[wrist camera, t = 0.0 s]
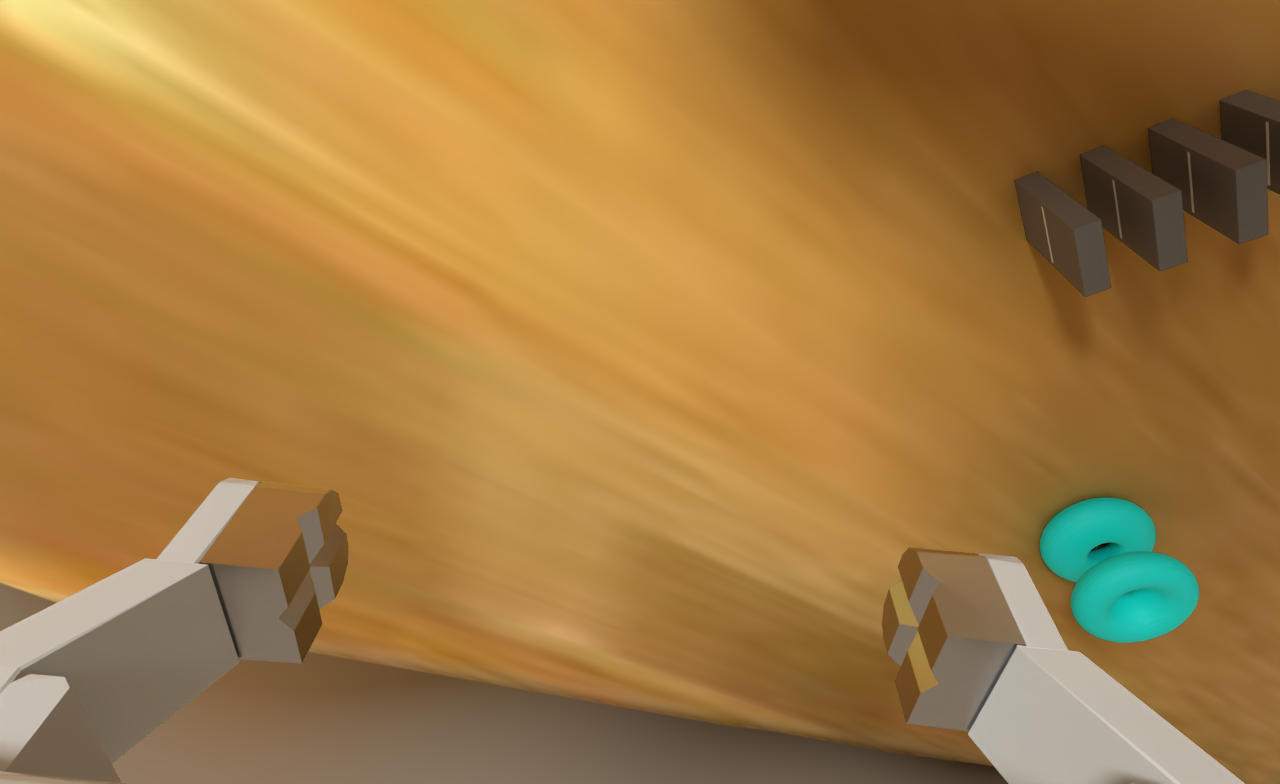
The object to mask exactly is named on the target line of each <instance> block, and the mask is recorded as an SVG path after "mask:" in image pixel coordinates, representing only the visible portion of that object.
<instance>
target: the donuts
mask: <svg viewBox="0 0 1280 784" xmlns="http://www.w3.org/2000/svg"><path fill="white" fill-rule="evenodd" d="M1155 540H1156V530H1155V526H1154V523H1153V521H1152V519H1151V518H1150V516H1149V515H1148V514H1147V513H1146V512H1145V511H1144V510H1143V509H1142V508H1140V507H1139V506H1138V505H1136V504H1134V503H1132V502H1129V501H1126V500H1123V499H1119V498H1110V497H1103V498H1093V499H1088V500H1084V501H1081V502H1078V503H1075V504H1073V505H1071V506H1069V507H1067V508H1065V509H1064V510H1062V511H1061V512H1059V513H1058V514H1057V515H1055V516H1054V517H1053V518H1052V519H1051V520H1050V522H1049V523H1048V524H1047V525H1046V527H1045V529H1044V530H1043V533H1042V535H1041V539H1040V552H1041V556H1042V558H1043V560H1044V562H1045V564H1046V565H1047V566H1048V568H1049V569H1050V570H1051V571H1052V572H1054V573H1055V574H1057V575H1058V576H1060V577H1062V578H1064V579H1066V580H1069V581H1073V582H1077V583H1076V585H1075V587H1074V589H1073V592H1072V595H1071V609H1072V613H1073V615H1074V617H1075V619H1076V621H1077V622H1078V624H1079V625H1080V626H1081V627H1082V628H1083V629H1084V630H1086V631H1087V632H1088V633H1090V634H1092V635H1093V636H1095V637H1098V638H1100V639H1103V640H1107V641H1112V642H1121V643H1131V642H1140V641H1145V640H1149V639H1153V638H1156V637H1159V636H1161V635H1164V634H1166V633H1168V632H1170V631H1172V630H1173V629H1175V628H1176V627H1178V626H1179V625H1181V624H1182V623H1183V622H1184V621H1185V620H1186V619H1187V618H1188V617H1189V616H1190V615H1191V613H1192V612H1193V610H1194V609H1195V607H1196V605H1197V602H1198V598H1199V587H1198V583H1197V580H1196V578H1195V576H1194V574H1193V573H1192V572H1191V570H1190V569H1189V568H1188V567H1187V566H1185V565H1184V564H1183V563H1182V562H1180V561H1178V560H1177V559H1175V558H1173V557H1170V556H1168V555H1165V554H1161V553H1156V552H1152V550H1153V547H1154V544H1155ZM1103 543H1109V544H1108V545H1106V546H1104V547H1102V548H1100V549H1097V550H1094V551H1091V550H1092V549H1093V548H1094V547H1096V546H1098V545H1100V544H1103ZM1131 591H1132V592H1131ZM1128 592H1130V593H1128ZM1126 593H1127V594H1126Z"/></svg>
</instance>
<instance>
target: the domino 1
mask: <svg viewBox="0 0 1280 784" xmlns="http://www.w3.org/2000/svg"><path fill="white" fill-rule="evenodd" d="M1014 181H1015V186H1016V191H1017V196H1018V201H1019V205H1020V210H1021V215H1022V220H1023V225H1024V230H1025V235H1026V239H1027V241H1028V242H1029V243H1030V244H1031V245H1032V246H1033V247H1034V248H1036V249H1037V250H1038V251H1039V252H1040V253H1041V254H1042V255H1043V256H1044V257H1045V258H1046V259H1047V260H1048V261H1049V262H1050V263H1051V264H1052V265H1053V266H1054V267H1055V268H1056V269H1057V270H1058V271H1059V272H1060V273H1061V274H1062V275H1063V276H1064V277H1065V278H1066V279H1067V280H1068V281H1069V282H1070V283H1071V284H1072V285H1073V286H1074V287H1075V288H1076V289H1077V290H1078V291H1079V292H1080V293H1081V294H1082V295H1084V296H1085V297H1086V296H1089V295H1092V294H1095V293H1098V292H1101V291H1104V290H1107V289H1110V288H1111V282H1110V276H1109V269H1108V262H1107V256H1106V249H1105V242H1104V236H1103V229H1102V222H1101V219H1099V218H1098V217H1097V216H1095V215H1094V214H1093V213H1092V212H1090V211H1089V210H1088V209H1086V208H1085V207H1084V206H1082V205H1081V204H1080V203H1078V202H1077V201H1076V200H1074V199H1073V198H1072V197H1070V196H1069V195H1068V194H1066V193H1065V192H1064V191H1062V190H1061V189H1060V188H1058V187H1057V186H1056V185H1054V184H1053V183H1052V182H1050V181H1049V180H1048V179H1047V178H1045V177H1044V176H1043V175H1041V174H1040V173H1039V172H1035V173H1032V174H1029V175H1027V176H1024V177H1022V178H1019V179H1017V180H1014Z"/></svg>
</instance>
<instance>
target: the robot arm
mask: <svg viewBox="0 0 1280 784" xmlns="http://www.w3.org/2000/svg"><path fill="white" fill-rule="evenodd" d="M341 513H342V507H341V503H340V498H339V494H338V493H337V492H335V491H333V490H330V489H322V488H314V487H306V486H298V485H290V484H282V483H273V482H265V481H264V482H258V481H251V480H243V479H236V478H228V479H226V480H224V481H221V482H220V483H218V484H217V486H216V487H215V488H214V489H213V490H212V492H211V493H210V494H209V495H208V497H207V498H206V499H205V500H204V501H203V503H202V504H201V505H200V506H199V508H198V509H197V510H196V511H195V512H194V514H193V515H192V516H191V517H190V519H189V520H188V521H187V522H186V523H185V525H184V526H183V527H182V528H181V530H180V531H179V532H178V533H177V534H176V536H175V537H174V538H173V539H172V541H171V542H170V543H169V544H168V546H167V547H166V548H165V549H164V550H163V552H162V553H161V554H160V555H159V557H158V558H157V559H146V558H145V559H143V560H141V561H139V562H137V563H135V564H133V565H131V566H129V567H127V568H125V569H123V570H121V571H119V572H117V573H115V574H113V575H111V576H109V577H107V578H105V579H103V580H101V581H99V582H97V583H95V584H94V585H92V586H90V587H88V588H86V589H84V590H82V591H80V592H78V593H76V594H74V595H72V596H70V597H68V598H66V599H64V600H62V601H60V602H58V603H56V604H54V605H52V606H50V607H48V608H46V609H44V610H42V611H40V612H38V613H36V614H34V615H33V616H30V617H28V618H26V619H24V620H22V621H20V622H18V623H16V624H14V625H12V626H10V627H9V628H6V629H5V630H2V631H1V632H0V784H123V783H122V782H121V780H120V778H119V776H118V774H117V773H116V771H115V769H114V767H113V765H112V763H113V762H114V761H116V760H117V759H118V758H119V757H121V756H122V755H123V754H125V753H126V752H127V751H128V750H130V749H131V748H132V747H133V746H135V745H136V744H137V743H138V742H140V741H141V740H142V739H144V738H145V737H146V736H147V735H149V734H150V733H151V732H152V731H154V730H155V729H156V728H157V727H159V726H160V725H161V724H162V723H164V722H165V721H166V720H167V719H169V718H170V717H171V716H172V715H174V714H175V713H176V712H177V711H179V710H180V709H181V708H183V707H184V706H185V705H186V704H187V703H189V702H190V701H191V700H193V699H194V698H195V697H196V696H198V695H199V694H200V693H202V692H203V691H204V690H205V689H207V688H208V687H209V686H210V685H212V684H213V683H214V682H215V681H217V680H218V679H219V678H220V677H222V676H223V675H224V674H226V673H227V672H228V671H229V670H230V669H232V668H233V667H234V666H235V665H237V664H238V663H239V659H247V660H260V661H275V662H289V663H302V662H303V660H304V659H305V657H306V655H307V653H308V651H309V649H310V647H311V645H312V643H313V641H314V639H315V637H316V635H317V633H318V631H319V629H320V627H321V625H322V620H321V616H320V611H319V609H320V608H322V607H323V606H325V605H326V604H328V603H329V602H331V601H332V600H334V599H335V598H336V596H337V594H338V592H339V589H340V587H341V585H342V583H343V580H344V576H345V572H346V568H347V564H348V541H347V534H346V533H345V532H344V531H343V530H342V529H341V528H340V527H339V526H338V525H337V524H336V522H337V520H338V518H339V516H340V514H341ZM898 569H899V572H900V575H901V579H902V580H901V581H900V582H898V583H897V584H895V585H894V586H892V587H891V588H889V591H888V594H887V597H886V600H885V603H884V608H883V619H882V627H883V637H884V642H885V646H886V650H887V654H888V655H889V656H890V657H891V658H892V659H893V660H894V661H895V662H896V663H897V664H898V665H899V666H900V667H901V668H900V670H899V672H898V675H897V677H896V680H895V684H896V687H897V691H898V694H899V698H900V702H901V705H902V709H903V712H904V716H905V720H906V723H907V724H913V725H921V726H929V727H937V728H945V729H953V730H960V731H968V732H969V733H968V735H969V737H970V738H971V739H972V740H973V741H974V743H975V744H976V745H977V746H978V747H979V749H980V750H981V751H982V752H983V753H984V755H985V756H986V757H987V758H988V759H989V761H990V762H991V763H992V764H993V765H994V767H995V768H996V769H997V770H998V771H999V773H1000V774H1001V775H1002V776H1003V777H1004V779H1005V780H1006V781H1007V782H1008V783H1009V784H1245V783H1243V782H1242V781H1241V780H1240V779H1238V778H1237V777H1236V776H1235V775H1233V774H1232V773H1231V772H1230V771H1228V770H1227V769H1226V768H1225V767H1223V766H1222V765H1221V764H1220V763H1218V762H1217V761H1216V760H1215V759H1213V758H1212V757H1211V756H1210V755H1208V754H1207V753H1206V752H1205V751H1203V750H1202V749H1201V748H1200V747H1198V746H1197V745H1196V744H1195V743H1193V742H1192V741H1191V740H1190V739H1188V738H1187V737H1186V736H1185V735H1183V734H1182V733H1181V732H1180V731H1178V730H1177V729H1176V728H1175V727H1173V726H1172V725H1171V724H1169V723H1168V722H1167V721H1166V720H1164V719H1163V718H1162V717H1161V716H1159V715H1158V714H1157V713H1156V712H1154V711H1153V710H1152V709H1151V708H1149V707H1148V706H1147V705H1146V704H1144V703H1143V702H1142V701H1141V700H1139V699H1138V698H1137V697H1136V696H1134V695H1133V694H1132V693H1131V692H1129V691H1128V690H1127V689H1126V688H1124V687H1123V686H1122V685H1121V684H1119V683H1118V682H1117V681H1116V680H1114V679H1113V678H1112V677H1111V676H1109V675H1108V674H1107V673H1106V672H1104V671H1103V670H1102V669H1101V668H1099V667H1098V666H1097V665H1095V664H1094V663H1093V662H1092V661H1090V660H1089V659H1088V658H1087V657H1085V656H1084V655H1083V654H1082V653H1080V652H1077V651H1069V650H1068V648H1067V647H1066V645H1065V643H1064V641H1063V639H1062V637H1061V635H1060V633H1059V631H1058V629H1057V627H1056V625H1055V624H1054V622H1053V620H1052V618H1051V616H1050V614H1049V612H1048V610H1047V608H1046V606H1045V604H1044V602H1043V601H1042V599H1041V597H1040V595H1039V593H1038V591H1037V589H1036V587H1035V585H1034V583H1033V581H1032V579H1031V578H1030V576H1029V574H1028V572H1027V570H1026V568H1025V566H1024V564H1023V563H1022V561H1020V560H1019V559H1018V558H1017V557H1015V556H1003V555H991V554H975V553H965V552H954V551H943V550H932V549H921V548H910V547H909V548H908V549H907V550H906V551H905V552H904V553H903V555H902V558H901V560H900V563H899V565H898Z"/></svg>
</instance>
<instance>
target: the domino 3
mask: <svg viewBox="0 0 1280 784" xmlns="http://www.w3.org/2000/svg"><path fill="white" fill-rule="evenodd" d="M1148 132H1149V141H1150V150H1151V160H1152V169H1153V174H1154V175H1155V176H1157V177H1159V178H1160V179H1162V180H1164V181H1166V182H1167V183H1169V184H1171V185H1172V186H1174V187H1176V188H1178V189H1179V190H1181V194H1182V205H1183V210H1184V211H1186V212H1188V213H1189V214H1191V215H1193V216H1194V217H1196V218H1197V219H1199V220H1201V221H1202V222H1204V223H1206V224H1207V225H1209V226H1210V227H1212V228H1214V229H1215V230H1217V231H1219V232H1220V233H1222V234H1223V235H1225V236H1227V237H1228V238H1230V239H1232V240H1233V241H1235V242H1236V243H1238V244H1242V243H1245V242H1248V241H1251V240H1253V239H1256V238H1259V237H1262V236H1265V235H1268V234H1269V233H1268V198H1267V163H1266V159H1264V158H1262V157H1259V156H1257V155H1255V154H1253V153H1250V152H1248V151H1246V150H1244V149H1241V148H1239V147H1237V146H1235V145H1232V144H1230V143H1228V142H1225V141H1223V140H1221V139H1219V138H1216V137H1214V136H1212V135H1210V134H1207V133H1205V132H1203V131H1201V130H1198V129H1196V128H1194V127H1191V126H1189V125H1187V124H1185V123H1182V122H1180V121H1178V120H1176V119H1170V120H1168V121H1165V122H1163V123H1160V124H1158V125H1155V126H1152V127H1150V128H1148Z"/></svg>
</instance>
